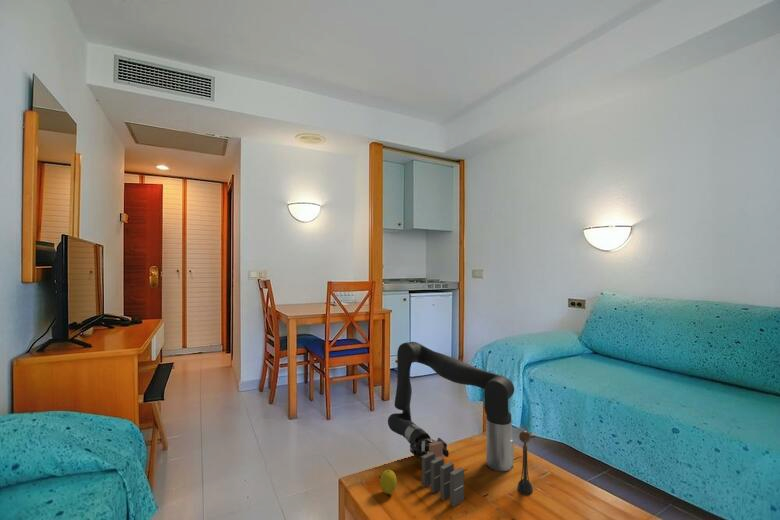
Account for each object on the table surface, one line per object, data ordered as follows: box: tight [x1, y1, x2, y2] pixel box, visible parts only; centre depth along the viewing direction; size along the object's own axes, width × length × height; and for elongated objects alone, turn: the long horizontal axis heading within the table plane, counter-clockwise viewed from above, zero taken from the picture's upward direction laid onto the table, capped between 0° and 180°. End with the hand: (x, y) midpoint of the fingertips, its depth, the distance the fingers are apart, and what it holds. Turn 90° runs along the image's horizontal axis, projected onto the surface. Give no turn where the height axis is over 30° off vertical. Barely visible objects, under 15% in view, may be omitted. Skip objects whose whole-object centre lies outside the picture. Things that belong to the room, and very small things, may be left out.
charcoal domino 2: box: [430, 457, 445, 494], centre depth 124 cm, size 2×5×10 cm, turn 130°
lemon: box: [379, 469, 398, 495], centre depth 121 cm, size 6×6×8 cm
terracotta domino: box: [428, 441, 444, 459], centre depth 135 cm, size 2×5×10 cm, turn 115°
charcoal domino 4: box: [449, 466, 465, 508], centre depth 117 cm, size 2×5×10 cm, turn 130°
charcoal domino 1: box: [421, 452, 435, 488], centre depth 127 cm, size 2×5×10 cm, turn 129°
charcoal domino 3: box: [439, 461, 455, 501], centre depth 120 cm, size 2×5×10 cm, turn 130°
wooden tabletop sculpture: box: [517, 430, 536, 495], centre depth 124 cm, size 6×5×20 cm
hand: (438, 456), depth 133 cm, fingers open, 7 cm apart
